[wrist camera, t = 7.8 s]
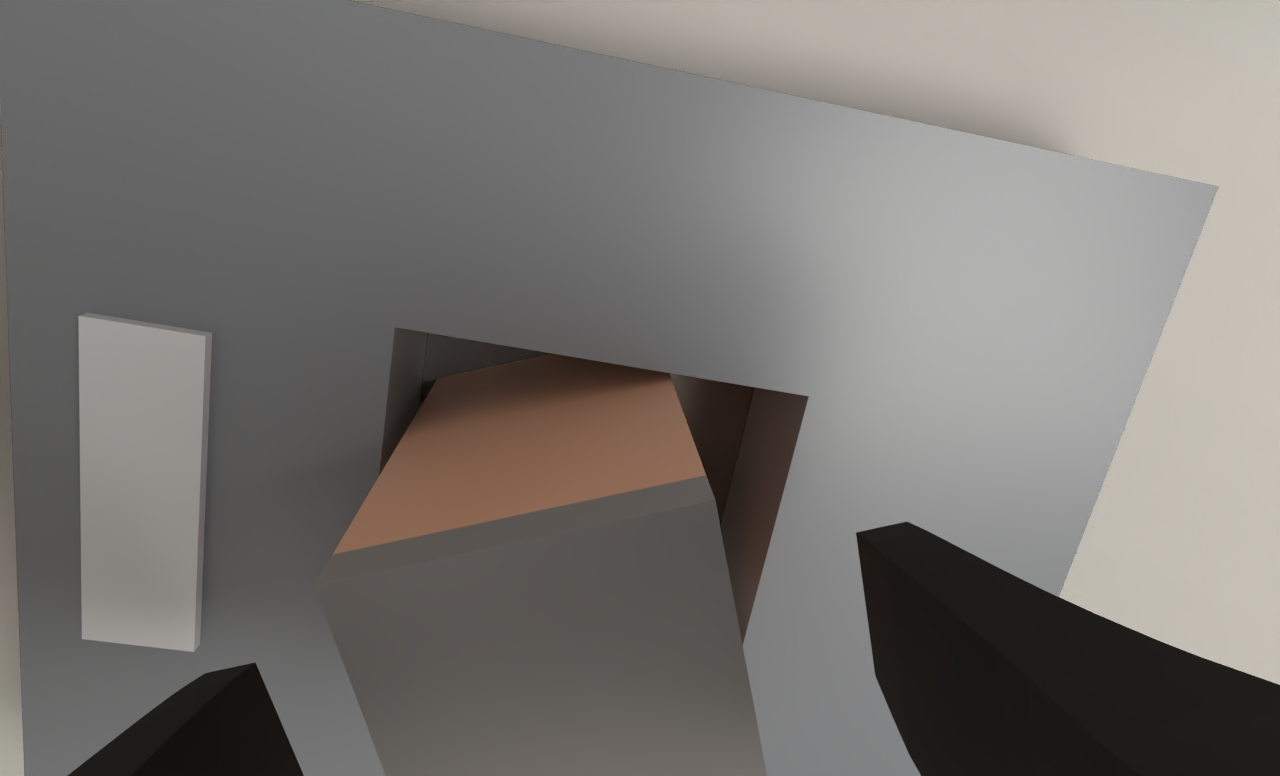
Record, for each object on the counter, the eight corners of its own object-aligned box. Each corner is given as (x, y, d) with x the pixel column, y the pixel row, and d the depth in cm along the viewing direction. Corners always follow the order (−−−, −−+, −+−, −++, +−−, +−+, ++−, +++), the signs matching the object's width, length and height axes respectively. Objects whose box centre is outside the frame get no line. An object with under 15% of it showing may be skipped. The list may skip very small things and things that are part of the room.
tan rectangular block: (437, 378, 14) (314, 584, 8) (653, 332, 14) (715, 499, 8) (493, 568, 16) (428, 888, 9) (692, 526, 16) (774, 813, 9)
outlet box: (130, -27, 12) (-20, -82, 9) (1090, 175, 14) (1229, 187, 11) (125, 727, 16) (19, 864, 13) (874, 804, 18) (933, 940, 15)
